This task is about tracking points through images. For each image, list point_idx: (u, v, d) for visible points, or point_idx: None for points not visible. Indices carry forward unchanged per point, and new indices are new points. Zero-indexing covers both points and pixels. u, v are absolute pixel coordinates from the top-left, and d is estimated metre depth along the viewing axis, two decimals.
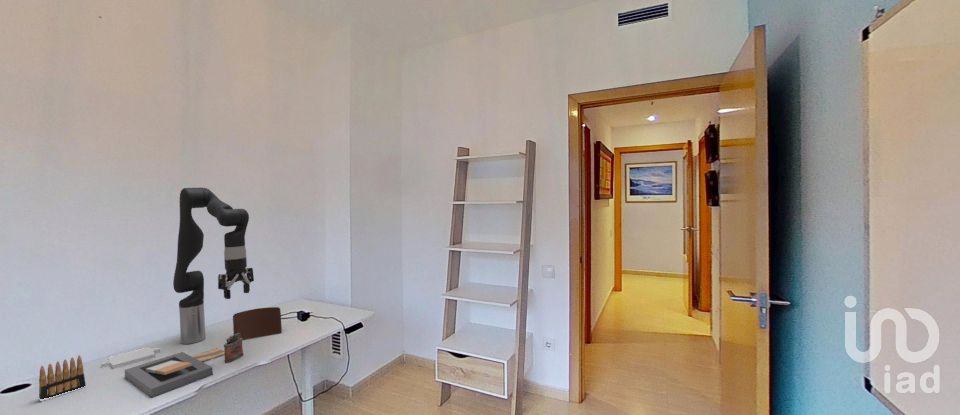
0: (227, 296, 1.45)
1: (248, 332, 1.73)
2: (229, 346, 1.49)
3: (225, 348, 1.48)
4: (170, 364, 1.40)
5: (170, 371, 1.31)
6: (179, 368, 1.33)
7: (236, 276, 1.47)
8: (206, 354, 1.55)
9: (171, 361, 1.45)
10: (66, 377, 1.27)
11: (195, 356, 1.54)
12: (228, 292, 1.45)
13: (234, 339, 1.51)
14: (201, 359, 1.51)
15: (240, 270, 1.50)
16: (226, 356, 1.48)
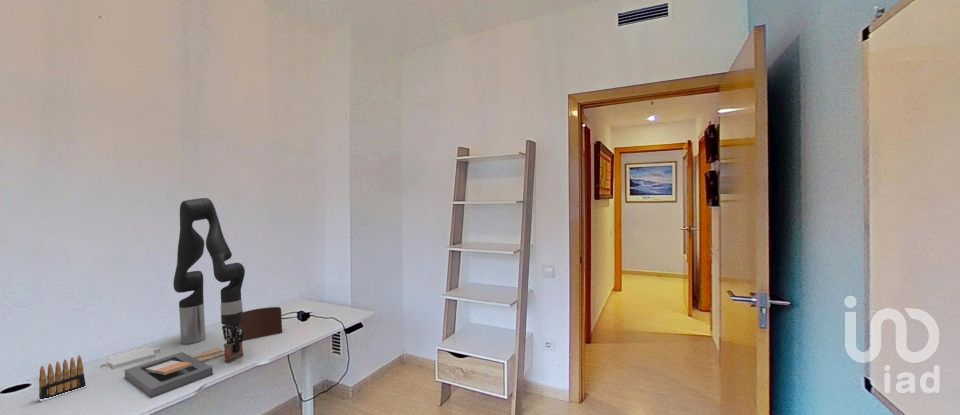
0: (238, 349, 1.51)
1: (249, 332, 1.73)
2: (229, 346, 1.49)
3: (225, 348, 1.48)
4: (170, 364, 1.40)
5: (170, 371, 1.31)
6: (179, 368, 1.33)
7: None
8: (206, 354, 1.55)
9: (171, 361, 1.45)
10: (66, 377, 1.27)
11: (195, 356, 1.54)
12: (238, 345, 1.51)
13: None
14: (201, 359, 1.51)
15: None
16: (226, 356, 1.48)
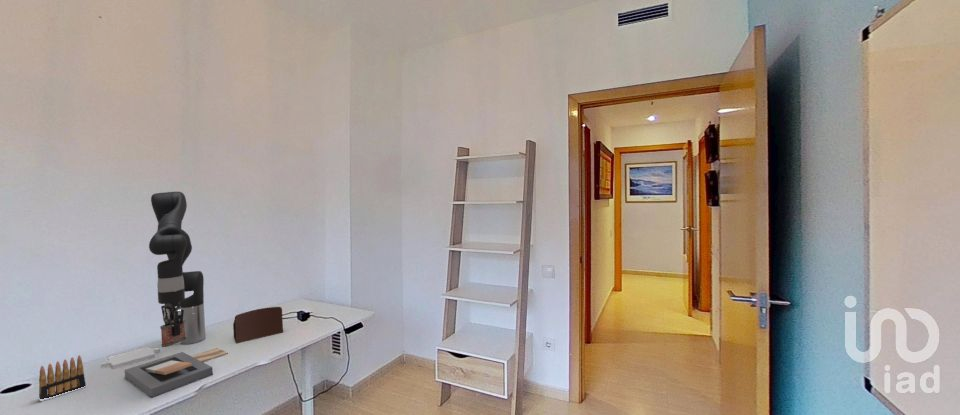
0: None
1: (250, 332, 1.72)
2: (167, 328, 1.31)
3: (162, 330, 1.30)
4: (170, 364, 1.40)
5: (170, 371, 1.31)
6: (179, 368, 1.33)
7: None
8: (206, 354, 1.55)
9: (171, 361, 1.45)
10: (66, 377, 1.27)
11: (195, 356, 1.54)
12: (179, 327, 1.33)
13: None
14: (201, 359, 1.51)
15: None
16: (163, 339, 1.30)
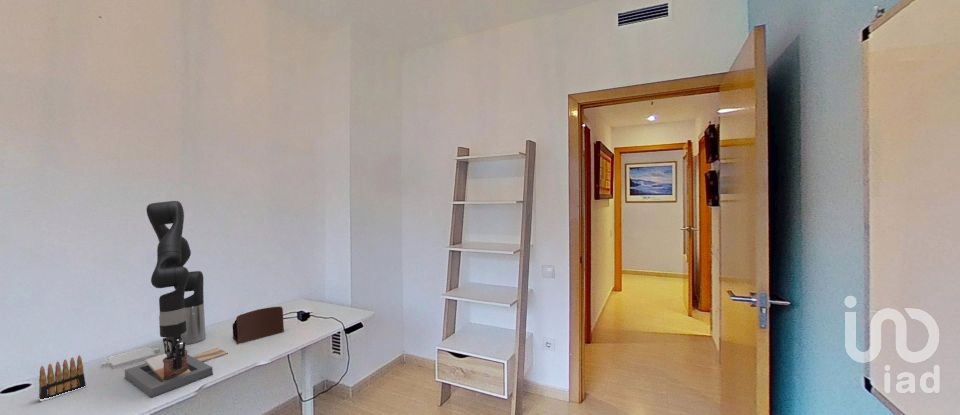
0: (180, 365, 1.32)
1: (251, 333, 1.71)
2: (169, 361, 1.30)
3: (164, 363, 1.30)
4: None
5: None
6: None
7: None
8: (206, 354, 1.55)
9: None
10: (66, 377, 1.27)
11: (195, 356, 1.54)
12: (180, 360, 1.33)
13: None
14: (201, 359, 1.51)
15: None
16: (165, 372, 1.30)
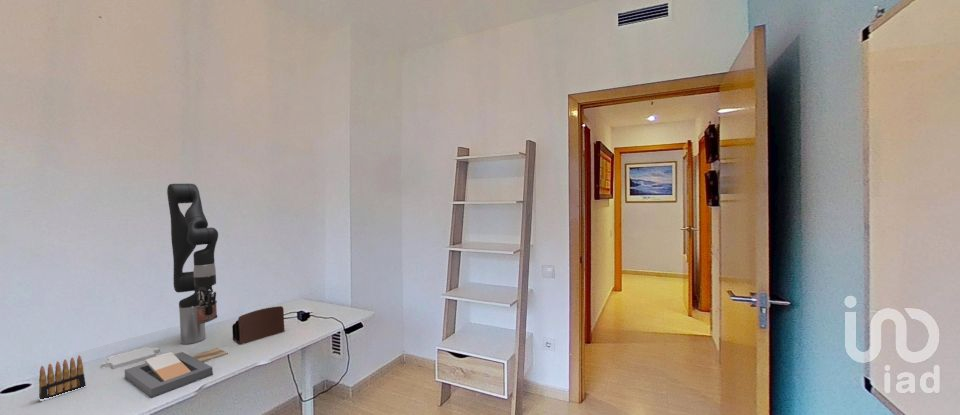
0: (211, 311, 1.54)
1: (253, 333, 1.71)
2: (202, 308, 1.52)
3: (198, 309, 1.51)
4: (170, 363, 1.40)
5: None
6: None
7: None
8: (206, 354, 1.55)
9: (171, 355, 1.45)
10: (66, 377, 1.27)
11: (195, 356, 1.54)
12: (211, 308, 1.54)
13: None
14: (201, 359, 1.51)
15: None
16: (199, 317, 1.52)
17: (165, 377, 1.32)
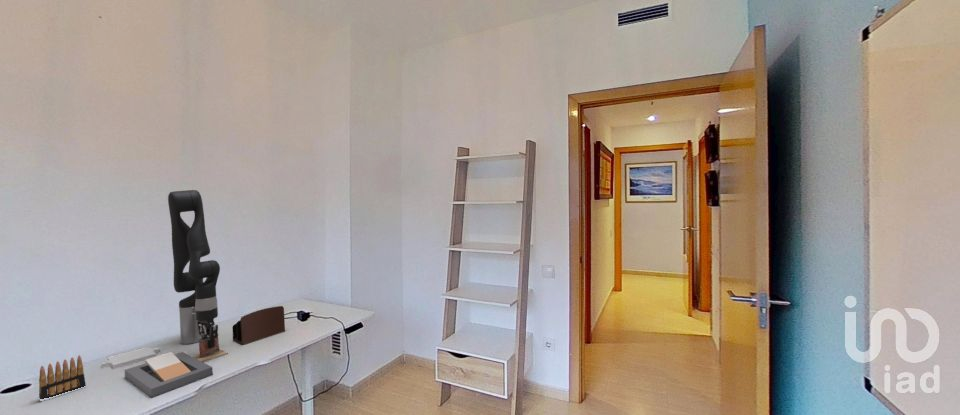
0: (213, 344, 1.54)
1: (255, 333, 1.71)
2: (203, 341, 1.53)
3: (199, 343, 1.52)
4: (170, 363, 1.40)
5: None
6: None
7: None
8: None
9: (171, 355, 1.45)
10: (66, 377, 1.27)
11: (195, 356, 1.54)
12: (214, 340, 1.54)
13: (209, 334, 1.55)
14: (201, 359, 1.51)
15: None
16: (201, 351, 1.52)
17: (165, 377, 1.32)
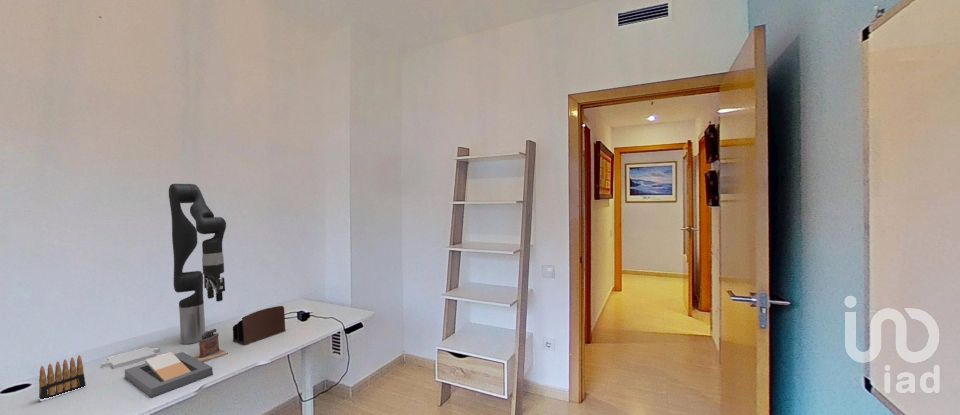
0: (221, 298, 1.56)
1: (256, 333, 1.71)
2: (204, 341, 1.53)
3: (200, 343, 1.52)
4: (170, 363, 1.40)
5: None
6: None
7: None
8: None
9: (171, 355, 1.45)
10: (66, 377, 1.27)
11: (195, 356, 1.54)
12: (221, 294, 1.56)
13: (209, 334, 1.56)
14: (201, 359, 1.51)
15: None
16: (201, 351, 1.52)
17: (165, 377, 1.32)
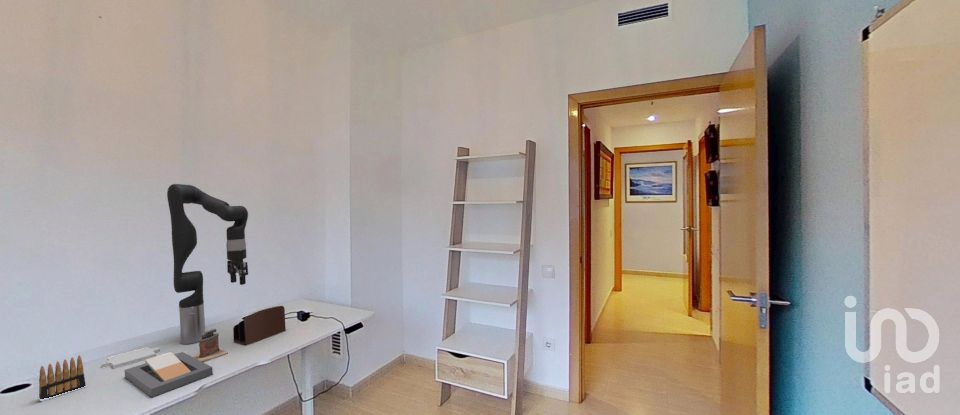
0: (244, 281, 1.66)
1: (258, 333, 1.71)
2: (204, 341, 1.53)
3: (200, 343, 1.52)
4: (170, 363, 1.40)
5: None
6: None
7: None
8: None
9: (171, 355, 1.45)
10: (66, 377, 1.27)
11: (195, 356, 1.54)
12: (244, 278, 1.66)
13: (209, 334, 1.56)
14: (201, 359, 1.51)
15: None
16: (201, 351, 1.52)
17: (165, 377, 1.32)
